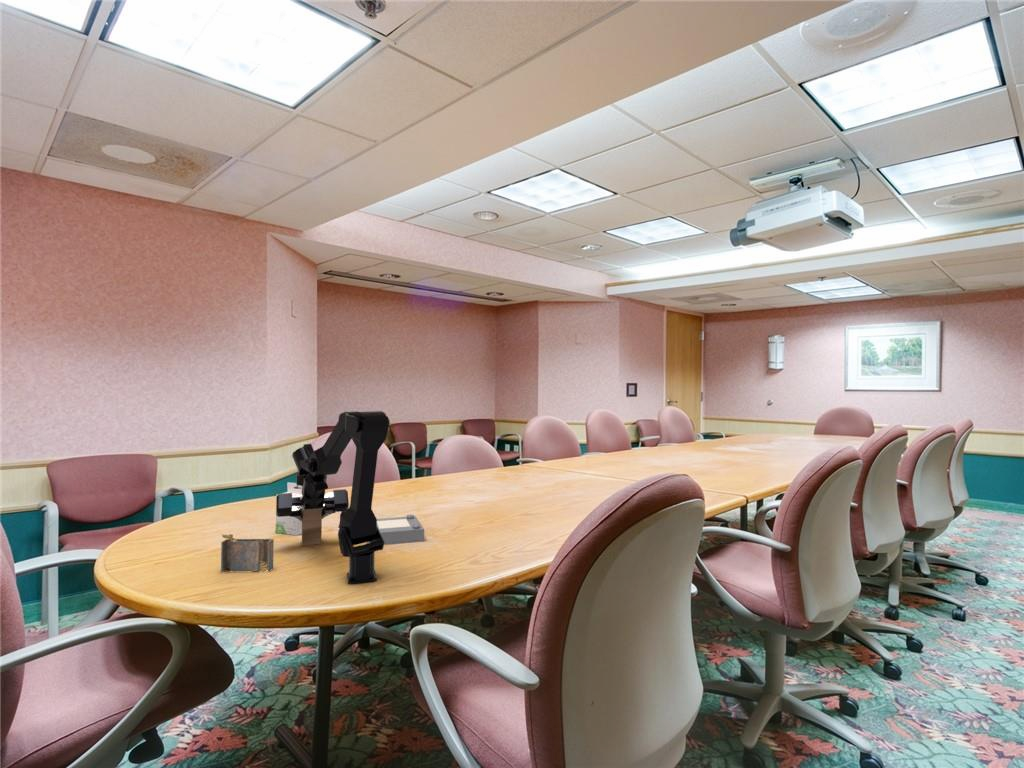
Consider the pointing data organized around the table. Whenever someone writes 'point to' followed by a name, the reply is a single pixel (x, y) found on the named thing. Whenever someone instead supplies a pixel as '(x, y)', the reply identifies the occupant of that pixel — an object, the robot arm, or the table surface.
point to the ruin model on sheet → (246, 554)
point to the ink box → (286, 522)
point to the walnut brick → (311, 526)
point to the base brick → (400, 529)
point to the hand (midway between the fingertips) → (311, 518)
